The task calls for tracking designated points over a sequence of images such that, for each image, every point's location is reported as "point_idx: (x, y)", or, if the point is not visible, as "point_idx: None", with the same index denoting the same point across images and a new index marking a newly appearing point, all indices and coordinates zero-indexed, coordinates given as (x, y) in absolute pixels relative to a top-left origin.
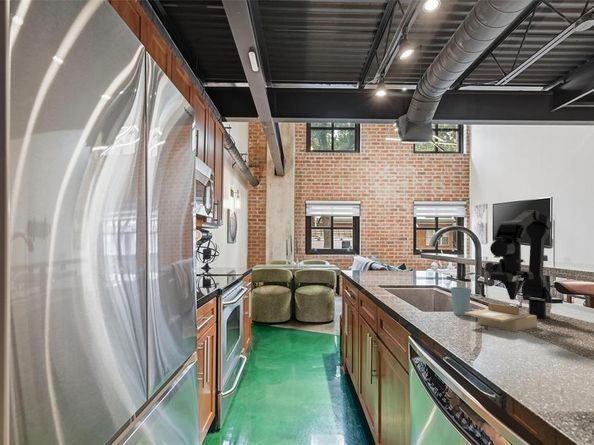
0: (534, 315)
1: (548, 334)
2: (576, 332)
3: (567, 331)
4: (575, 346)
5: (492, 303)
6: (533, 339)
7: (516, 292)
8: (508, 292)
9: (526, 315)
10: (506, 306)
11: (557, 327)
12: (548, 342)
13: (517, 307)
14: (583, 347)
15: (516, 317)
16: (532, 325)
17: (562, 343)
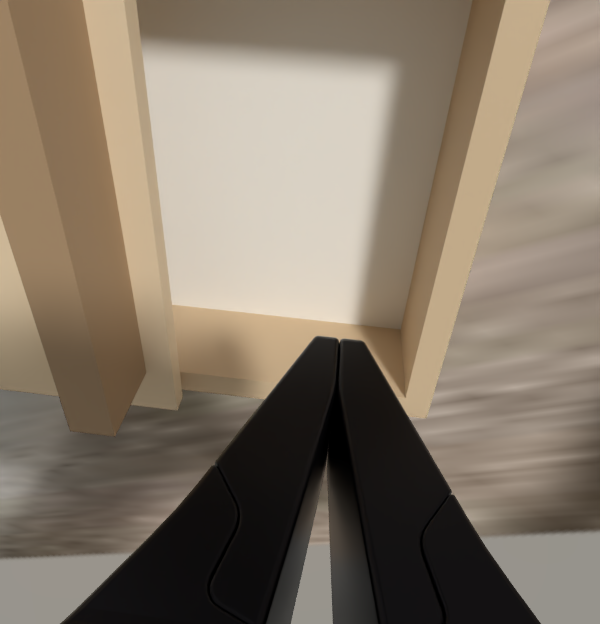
0: (423, 404)
1: (239, 428)
2: (468, 503)
3: (454, 474)
4: (110, 527)
5: (10, 56)
6: (17, 408)
7: (332, 553)
8: (246, 439)
9: (419, 336)
10: (36, 322)
11: (558, 421)
12: (47, 459)
13: (108, 423)
14: (129, 543)
15: (6, 387)
16: None
17: (103, 494)
